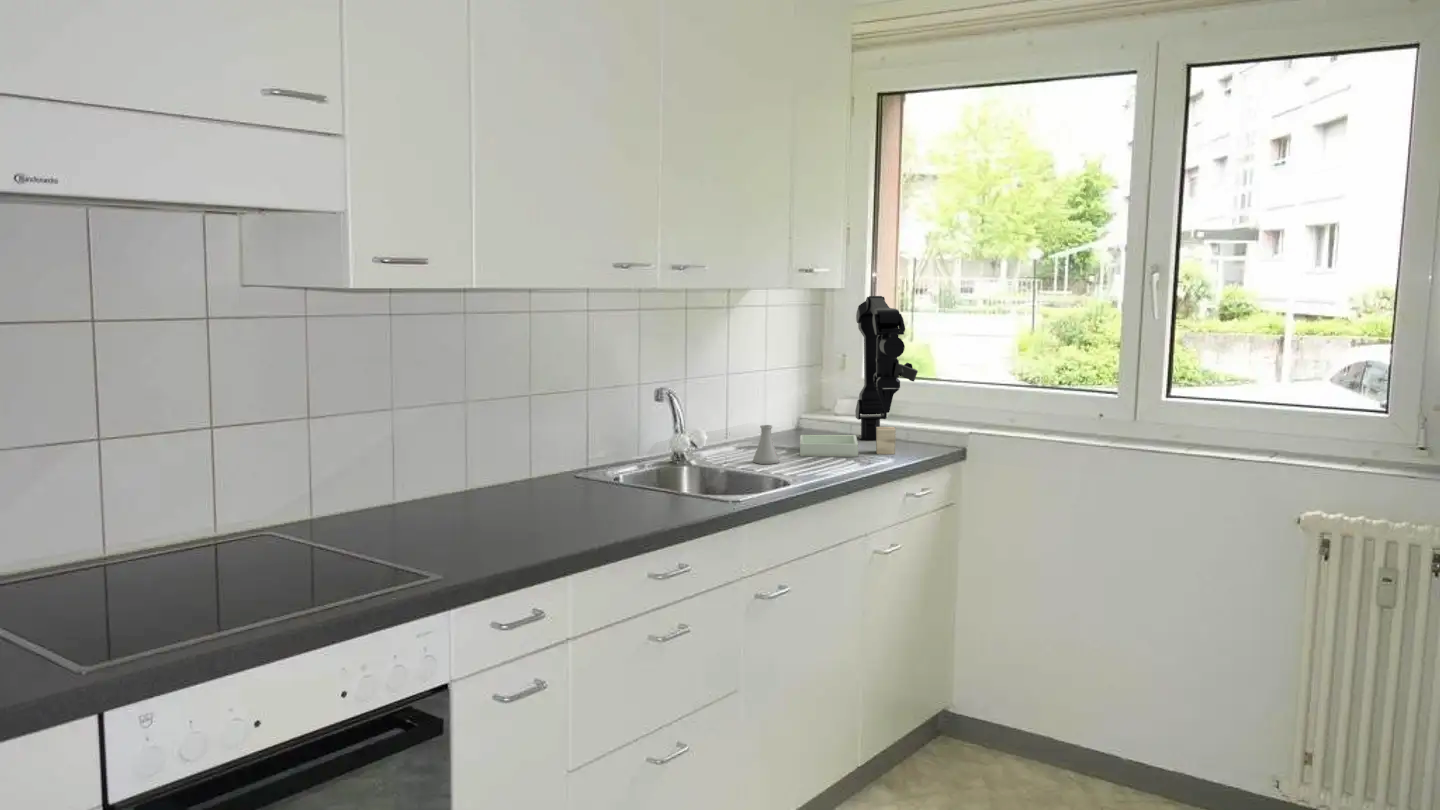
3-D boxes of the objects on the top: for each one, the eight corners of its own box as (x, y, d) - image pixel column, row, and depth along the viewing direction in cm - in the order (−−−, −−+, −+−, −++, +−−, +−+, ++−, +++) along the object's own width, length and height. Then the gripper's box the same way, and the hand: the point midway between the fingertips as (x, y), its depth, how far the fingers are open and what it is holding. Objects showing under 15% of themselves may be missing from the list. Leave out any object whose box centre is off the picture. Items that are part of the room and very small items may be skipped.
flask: (748, 461, 305) (748, 424, 304) (772, 459, 308) (771, 423, 307) (760, 465, 299) (760, 428, 297) (784, 463, 302) (784, 426, 300)
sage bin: (800, 446, 327) (800, 434, 327) (855, 447, 326) (855, 435, 326) (800, 456, 312) (800, 444, 311) (858, 456, 310) (858, 444, 310)
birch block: (876, 451, 319) (876, 426, 318) (893, 451, 319) (894, 427, 318) (877, 454, 314) (877, 429, 313) (895, 454, 314) (895, 429, 313)
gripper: (919, 357, 303) (918, 415, 305) (913, 351, 322) (912, 406, 324) (877, 357, 304) (876, 414, 306) (873, 352, 322) (873, 406, 324)
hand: (886, 410), depth 315 cm, fingers open, 9 cm apart
